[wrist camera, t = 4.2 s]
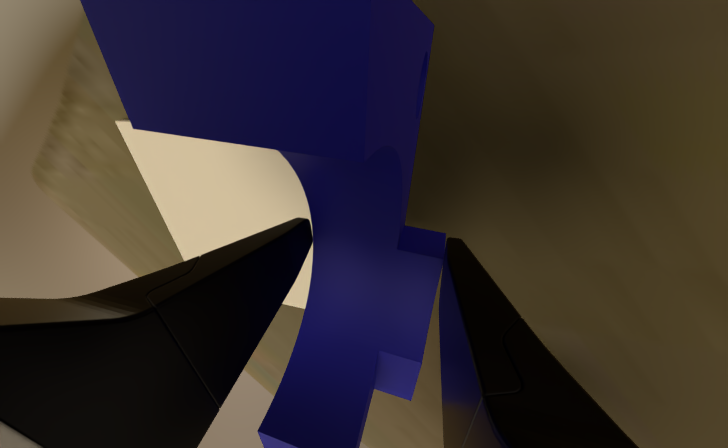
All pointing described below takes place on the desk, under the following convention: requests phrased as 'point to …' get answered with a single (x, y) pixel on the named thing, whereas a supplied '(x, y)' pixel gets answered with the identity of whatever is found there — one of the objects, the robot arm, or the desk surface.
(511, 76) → the desk surface
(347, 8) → the cable clip
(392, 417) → the desk surface
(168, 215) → the desk mat
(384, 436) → the desk surface
